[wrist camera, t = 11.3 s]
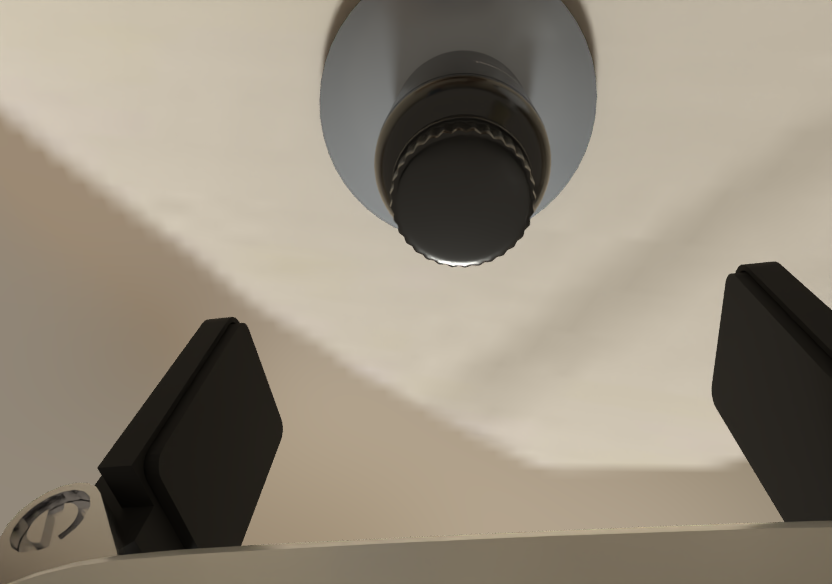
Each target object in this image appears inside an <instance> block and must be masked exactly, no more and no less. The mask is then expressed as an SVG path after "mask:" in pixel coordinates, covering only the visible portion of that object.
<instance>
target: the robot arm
mask: <svg viewBox="0 0 832 584" xmlns="http://www.w3.org/2000/svg"><path fill="white" fill-rule="evenodd" d="M712 398H713V401H714V405H715V407H716V409H717V410H718V412H719V414H720V415H721V417H722V419H723V420H724V422H725V424H726V425H727V427H728V429H729V430H730V432H731V434H732V435H733V437H734V439H735V440H736V442H737V444H738V445H739V447H740V449H741V450H742V452H743V454H744V455H745V457H746V459H747V460H748V462H749V464H750V465H751V467H752V468H753V470H754V472H755V473H756V475H757V477H758V478H759V480H760V482H761V483H762V485H763V487H764V488H765V490H766V492H767V493H768V495H769V497H770V498H771V500H772V502H773V503H774V505H775V507H776V508H777V510H778V512H779V513H780V515H781V517H782V518H783V520H784V522H773V523H771V522H770V523H733V524H710V525H709V524H708V525H684V526H660V527H634V528H610V529H609V528H608V529H583V530H560V531H539V532H516V533H494V534H493V533H492V534H470V535H449V536H429V537H428V536H427V537H406V538H387V539H386V538H385V539H366V540H347V541H327V542H309V543H287V544H268V545H250V546H241V544H242V542H243V539H244V536H245V534H246V531H247V528H248V526H249V523H250V521H251V518H252V515H253V513H254V510H255V507H256V505H257V502H258V499H259V497H260V494H261V491H262V489H263V486H264V483H265V481H266V478H267V475H268V473H269V470H270V468H271V465H272V462H273V460H274V457H275V454H276V451H277V449H278V446H279V444H280V441H281V438H282V432H283V426H282V420H281V417H280V414H279V412H278V409H277V406H276V403H275V401H274V398H273V395H272V392H271V389H270V387H269V384H268V381H267V379H266V376H265V373H264V370H263V367H262V364H261V362H260V359H259V356H258V353H257V351H256V348H255V345H254V343H253V340H252V337H251V334H250V332H249V329H248V327H247V325H246V324H245V323H239V321H238V320H237V319H236V318H234V317H228V318H219V319H209V320H206V321H204V322H203V323H202V325H201V326H200V328H199V329H198V330H197V332H196V333H195V334H194V336H193V337H192V339H191V340H190V341H189V343H188V344H187V345H186V347H185V348H184V349H183V351H182V352H181V354H180V355H179V356H178V358H177V359H176V360H175V362H174V363H173V365H172V366H171V367H170V369H169V370H168V372H167V373H166V374H165V376H164V377H163V378H162V380H161V381H160V382H159V384H158V385H157V387H156V388H155V389H154V391H153V392H152V394H151V395H150V396H149V398H148V399H147V400H146V402H145V403H144V404H143V406H142V407H141V409H140V410H139V411H138V413H137V414H136V416H135V417H134V418H133V420H132V421H131V422H130V424H129V425H128V426H127V428H126V429H125V431H124V432H123V433H122V435H121V436H120V437H119V439H118V440H117V441H116V443H115V444H114V446H113V447H112V449H111V450H110V451H109V452H108V454H107V455H106V457H105V458H104V459H103V461H102V462H101V464H100V465H99V466H98V470H99V471H100V473H101V475H102V476H101V477H100V479H99V480H98V481H97V483H96V484H95V486H94V485H91V484H89V483H72V484H68V485H64V486H61V487H58V488H56V489H54V490H51V491H49V492H47V493H45V494H43V495H42V496H40V497H39V498H37V499H35V500H33V501H32V502H31V503H29V504H28V505H27V506H26V507H24V508H23V509H22V510H21V511H19V512H18V513H17V515H16V516H15V517H14V518H13V519H12V520H11V521H10V522H9V523H8V524H7V526H6V528H5V530H4V531H3V533H2V535H1V536H0V584H832V310H831V309H830V308H829V307H828V306H827V305H825V304H824V303H823V302H822V301H821V300H820V299H819V298H818V297H816V296H815V295H814V294H813V293H812V292H811V291H810V290H809V289H807V288H806V287H805V286H804V285H803V284H802V283H801V282H800V281H799V280H797V279H796V278H795V277H794V276H793V275H792V274H791V273H790V272H788V271H787V270H786V269H785V268H784V267H783V266H782V265H781V264H779V263H778V262H764V263H755V264H745V265H740V266H739V267H738V269H737V270H736V273H733V274H729V275H728V277H727V279H726V284H725V291H724V299H723V306H722V314H721V321H720V329H719V336H718V344H717V351H716V358H715V366H714V373H713V381H712Z"/></svg>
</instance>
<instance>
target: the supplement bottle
mask: <svg viewBox="0 0 832 584" xmlns="http://www.w3.org/2000/svg"><path fill="white" fill-rule="evenodd" d="M374 171H375V179H376V184H377V188H378V191H379V194H380V196H381V199H382V201H383V203H384V205H385V207H386V208H387V210H388V211H389V213H390V214H391V216H392V217H393V220H394V222H395V223H396V224H397V225H398V231H399V233H400V234H401V235H403V236H404V238H405V241H406V243H407V244H409V245H411V246H413V248H414V250H415V251H416V252H417V253H420V254H423V255H424V257H425V258H426V259H429V260H434V261H435V262H436V263H438V264H447V265H449V266H451V267H456V266H462V267H468V266H471V265H478V266H479V265H481V264H482V263H484V262H491V261H493V260H494V259H495V258H496V257H498V256H502V255H504V254H505V253H506V251H507V250H508V249H511V248H513V247H514V246H515V244H516V242H517V241H518V240H519V239H521V238H522V237H523V235H524V230H525V229H526V228H527V227H528V226H529V225H530V217H531V216H532V215H533V213H534V212H535V211H536V209H537V208H538V206H539V204H540V202H541V200H542V199H543V196H544V194H545V191H546V189H547V185H548V182H549V178H550V172H551V150H550V144H549V139H548V135H547V132H546V129H545V127H544V124H543V122H542V120H541V118H540V116H539V114H538V113H537V111H536V109H535V107H534V106H533V104H532V102H531V100H530V99H529V97H528V95H527V93H526V92H525V90H524V88H523V87H522V85H521V83H520V82H519V80H518V79H517V78H516V76H515V75H514V74H513V73H512V72H511V71H510V69H509V68H507V67H506V66H505V65H504V64H503V63H501V62H500V61H498V60H496V59H495V58H493V57H491V56H488V55H486V54H483V53H480V52H475V51H467V50H459V51H451V52H447V53H443V54H440V55H438V56H435V57H433V58H431V59H429V60H428V61H426V62H425V63H423V64H422V65H421V66H419V67H418V68H417V69H416V70H415V71H414V72H413V73H412V74H411V75H410V77H409V78H408V79H407V81H406V82H405V83H404V85H403V87H402V88H401V90H400V92H399V94H398V96H397V98H396V100H395V102H394V104H393V106H392V108H391V110H390V112H389V114H388V116H387V118H386V120H385V122H384V124H383V126H382V128H381V131H380V134H379V137H378V140H377V145H376V149H375V157H374Z"/></svg>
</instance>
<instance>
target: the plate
mask: <svg viewBox="0 0 832 584" xmlns="http://www.w3.org/2000/svg"><path fill="white" fill-rule="evenodd" d="M459 50H467V51H475V52H480V53H483V54H486V55H488V56H491V57H493V58H495V59H496V60H498V61H500V62H501V63H503V64H504V65H505V66H506V67H507V68H509V69H510V71H511V72H512V73H513V74H514V75H515V76H516V78H517V79H518V80H519V82H520V83H521V85H522V87H523V88H524V90H525V92H526V93H527V95H528V97H529V99H530V100H531V102H532V104H533V106H534V107H535V109H536V111H537V113H538V114H539V116H540V118H541V120H542V122H543V124H544V127H545V129H546V132H547V135H548V139H549V144H550V150H551V172H550V178H549V182H548V185H547V189H546V191H545V194H544V196H543V199H542V200H541V202H540V204H539V206H538V208H537V209H536V211H535V212H534V213H533V215H532V216H531V217H530V218H532V217H533V216H535V215H536V214H537V213H539V212H540V211H541V210H543V209H544V208H545V207H546V206H547V205H548V204H549V203H550V202H551V201H552V200H553V199H555V198H556V197H557V196H558V194H559V193H560V192H561V191H562V190H563V188H564V187H565V186H566V185H567V183H568V182H569V181H570V179H571V178H572V176H573V174H574V173H575V171H576V170H577V168H578V166H579V164H580V162H581V160H582V158H583V156H584V154H585V152H586V149H587V146H588V143H589V140H590V137H591V134H592V130H593V125H594V120H595V114H596V100H597V91H596V76H595V71H594V66H593V61H592V57H591V54H590V51H589V48H588V45H587V42H586V39H585V37H584V35H583V33H582V31H581V29H580V27H579V25H578V23H577V21H576V20H575V19H574V17H573V16H572V14H571V13H570V12H569V10H568V9H567V7H566V6H565V5H564V4H563V3H562V2H561V0H361V1H360V2H359V3H358V4H357V5H356V6H355V8H354V9H353V10H352V11H351V12H350V14H349V15H348V17H347V18H346V20H345V21H344V23H343V24H342V25H341V27H340V29H339V31H338V33H337V35H336V37H335V39H334V41H333V43H332V45H331V47H330V50H329V53H328V56H327V59H326V62H325V66H324V70H323V75H322V80H321V89H320V119H321V125H322V130H323V136H324V139H325V143H326V146H327V149H328V153H329V155H330V157H331V160H332V162H333V164H334V166H335V169H336V170H337V172H338V174H339V175H340V177H341V179H342V180H343V182H344V184H345V185H346V186H347V187H348V189H349V190H350V191H351V192H352V194H353V195H354V196H355V197H356V198H357V199H358V200H359V201H360V202H361V203H362V204H363V205H364V206H365V207H366V208H367V209H368V210H369V211H371V212H372V213H373V214H374V215H376V216H377V217H378V218H380V219H381V220H383V221H385V222H386V223H388V224H390V225H391V226H393V227H395V228H397V229H398V225H397V224H396V223H395V222H394V220H393V217H392V216H391V214H390V213H389V211H388V210H387V208H386V207H385V205H384V203H383V201H382V199H381V196H380V194H379V191H378V188H377V184H376V179H375V171H374V157H375V149H376V145H377V140H378V137H379V134H380V131H381V128H382V126H383V124H384V122H385V120H386V118H387V116H388V114H389V112H390V110H391V108H392V106H393V104H394V102H395V100H396V98H397V96H398V94H399V92H400V90H401V88H402V87H403V85H404V83H405V82H406V81H407V79H408V78H409V77H410V75H411V74H412V73H413V72H414V71H415V70H416V69H417V68H418V67H419V66H421V65H422V64H423V63H425V62H426V61H428V60H429V59H431V58H433V57H435V56H438V55H440V54H443V53H447V52H451V51H459Z"/></svg>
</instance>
